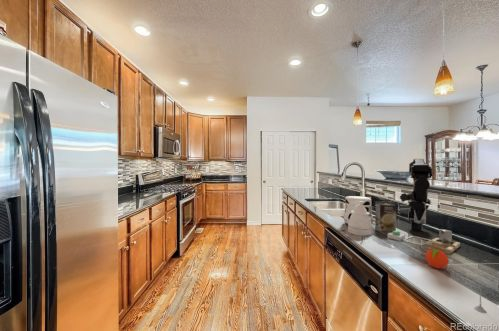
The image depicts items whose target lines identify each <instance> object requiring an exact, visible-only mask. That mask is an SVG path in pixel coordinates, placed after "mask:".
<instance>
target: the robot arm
mask: <svg viewBox="0 0 499 331" xmlns="http://www.w3.org/2000/svg"><path fill="white" fill-rule="evenodd" d="M408 165H409V166H408V173H410V177H411V178H412V181H413V182H412V183H413V184H412V191H411V193H406V192H404V193H400V194H401V195H400V196H399V200H401V202H402V203H403V202H406V201H409V202H408V207H409V210H408V211H407V212H408V214H407V219H408V220H407V221H410V228H408V231H413V232H422V231H424V232H425V230H423V225H424V224H419V223H415V222H414V210H415V213H416V216H417V220H418V221H420V220H421V218H422V216H423V214H424V212H425V210H426V212H427V211H428V209H429V207H430V205H431V203H432V202H431V199H430V198H428V194H429V190H428V189H429V188H430V186H431V183H430V181H429V180H428V179H431V178H432V177H433V169H432V167H431V166H430V164H429V163H426V162H425V159H424V158H414V159H413V161H412V162H410V163H409V164H408ZM426 223H428V214H427V213H426Z"/></svg>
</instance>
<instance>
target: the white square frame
mask: <svg viewBox="0 0 499 331" xmlns="http://www.w3.org/2000/svg"><path fill="white" fill-rule="evenodd" d="M388 239H391V240H395V241H399V242H401V241H402V240H403V239H406V234H403V233H400V235H399V236H397V235H393V232H388V233H387V240H388Z"/></svg>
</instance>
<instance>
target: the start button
mask: <svg viewBox="0 0 499 331" xmlns="http://www.w3.org/2000/svg"><path fill="white" fill-rule="evenodd" d="M400 234H401V232H400V231H399V230H396V231H393V235H397V236H399V235H400Z"/></svg>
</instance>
